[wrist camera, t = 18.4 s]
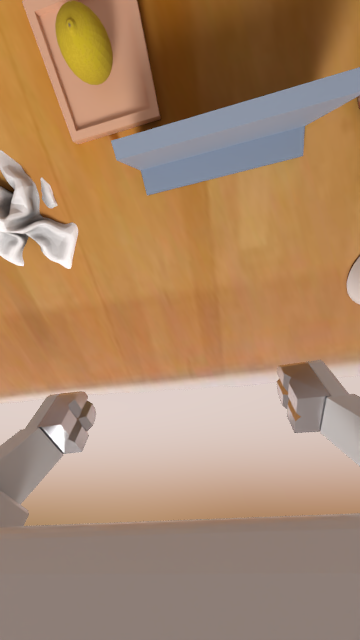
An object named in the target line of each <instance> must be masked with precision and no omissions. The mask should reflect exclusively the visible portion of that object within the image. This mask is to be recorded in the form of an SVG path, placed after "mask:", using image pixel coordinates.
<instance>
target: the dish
mask: <svg viewBox="0 0 360 640" xmlns="http://www.w3.org/2000/svg"><path fill="white" fill-rule="evenodd" d="M68 1H78V2H81V3H83V4H84V5H86V6H87V7H89V8H90V9H91V10H92V11H93V12H94V13H95V14H96V15H97V16H98V18H99V19H100V21H101V22H102V24H103V26H104V27H105V29H106V31H107V34H108V37H109V39H110V42H111V47H112V52H113V64H112V70H111V73H110V75H109V77H108V78H107V80H106V81H105V82H103V83H102V84H99V85H90V84H88V83H86V82H84V81H82V80H81V79H80V78H78V77H77V76H76V75H75V74H74V73H73V71H72V70H71V69H70V68H69V66H68V65H67V63H66V61H65V59H64V58H63V56H62V54H61V51H60V48H59V45H58V42H57V37H56V30H55V23H56V16H57V14H58V11H59V9H60V8H61V6H62V5H63V4H64V3H66V2H68ZM22 3H23V5H24V8H25V11H26V14H27V16H28V19H29V22H30V25H31V27H32V30H33V33H34V36H35V38H36V41H37V44H38V47H39V49H40V52H41V55H42V58H43V60H44V63H45V66H46V69H47V72H48V74H49V77H50V80H51V83H52V85H53V88H54V91H55V94H56V96H57V99H58V102H59V105H60V107H61V110H62V113H63V116H64V118H65V121H66V124H67V127H68V129H69V132H70V135H71V138H72V140H73V142H75V143H77V144H81V143H84V142H87V141H91V140H94V139H97V138H101V137H104V136H107V135H111V134H114V133H117V132H121V131H124V130H127V129H131V128H134V127H137V126H141V125H144V124H147V123H150V122H154V121H157V120H160V119H161V117H160V112H159V107H158V102H157V97H156V91H155V86H154V81H153V76H152V71H151V66H150V61H149V56H148V50H147V45H146V40H145V35H144V30H143V25H142V20H141V14H140V9H139V4H138V0H24V1H22Z"/></svg>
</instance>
